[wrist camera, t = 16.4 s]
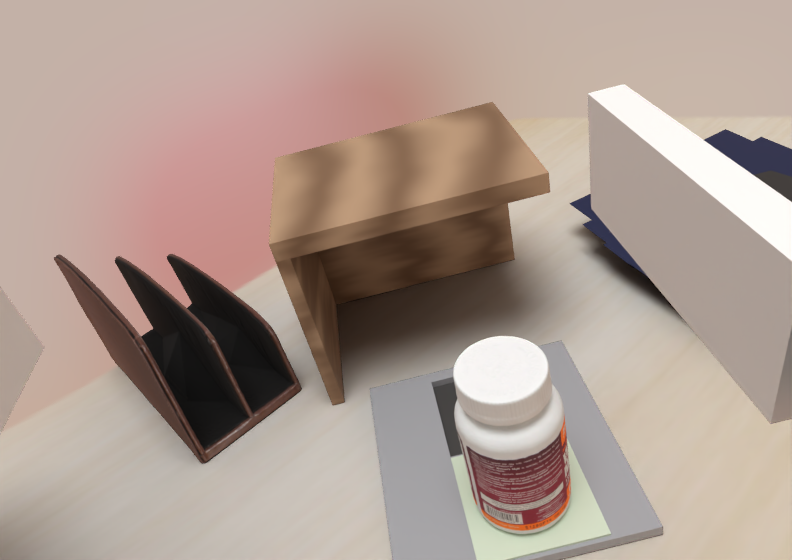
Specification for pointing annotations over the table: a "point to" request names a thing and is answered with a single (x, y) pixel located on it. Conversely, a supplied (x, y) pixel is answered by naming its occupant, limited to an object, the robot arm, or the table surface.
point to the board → (451, 491)
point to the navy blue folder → (735, 147)
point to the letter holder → (193, 353)
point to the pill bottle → (512, 434)
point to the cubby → (395, 215)
